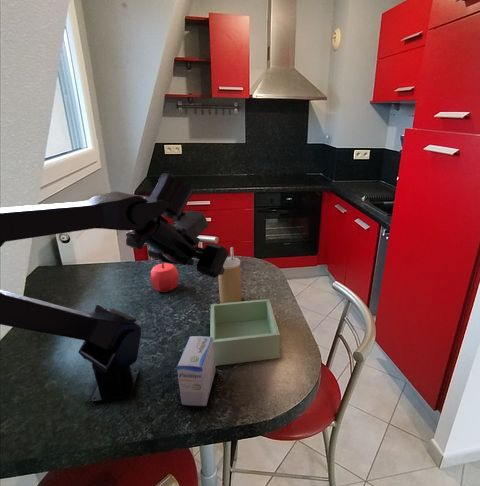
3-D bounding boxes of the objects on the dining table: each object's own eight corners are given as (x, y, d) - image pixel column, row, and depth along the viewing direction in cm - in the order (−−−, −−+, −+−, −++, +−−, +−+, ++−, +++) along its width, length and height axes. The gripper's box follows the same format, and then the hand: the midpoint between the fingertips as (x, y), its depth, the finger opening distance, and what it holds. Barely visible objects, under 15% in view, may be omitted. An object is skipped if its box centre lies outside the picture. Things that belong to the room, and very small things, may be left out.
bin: (279, 358, 66) (279, 334, 64) (212, 366, 63) (210, 342, 61) (269, 319, 78) (269, 298, 76) (212, 325, 76) (210, 304, 74)
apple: (158, 298, 87) (154, 272, 84) (147, 287, 93) (143, 262, 90) (185, 288, 92) (182, 263, 89) (173, 279, 97) (170, 254, 95)
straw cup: (242, 307, 83) (240, 253, 77) (220, 309, 82) (216, 254, 76) (241, 296, 88) (238, 244, 83) (219, 298, 87) (216, 245, 82)
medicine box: (193, 371, 62) (189, 335, 59) (216, 372, 62) (213, 335, 59) (181, 406, 55) (175, 366, 52) (207, 407, 55) (203, 366, 51)
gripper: (219, 208, 59) (254, 244, 72) (151, 196, 68) (193, 230, 81) (193, 262, 56) (234, 290, 69) (125, 242, 65) (173, 270, 78)
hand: (207, 267), depth 74 cm, fingers open, 9 cm apart
